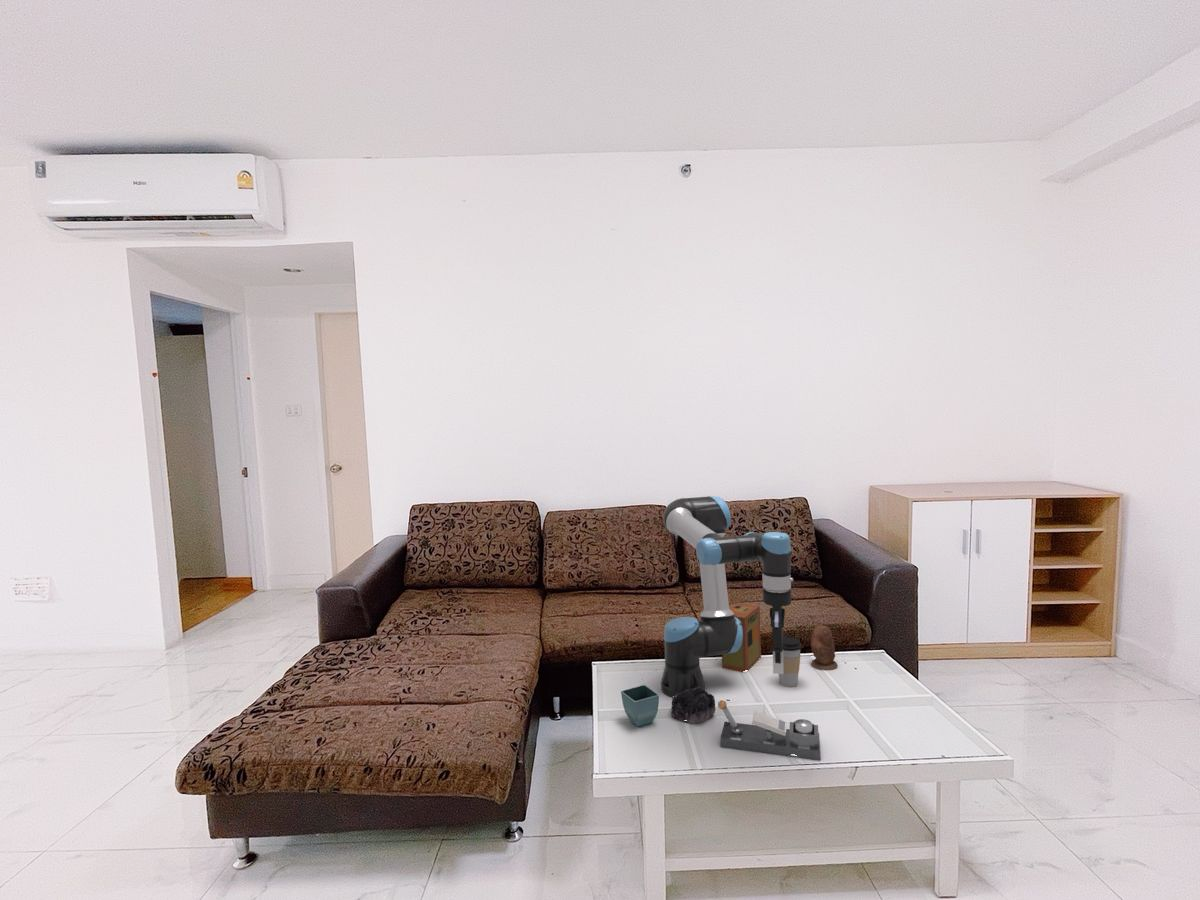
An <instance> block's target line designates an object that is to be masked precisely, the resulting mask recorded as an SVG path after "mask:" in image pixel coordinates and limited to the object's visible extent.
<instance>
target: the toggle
mask: <svg viewBox="0 0 1200 900" xmlns="http://www.w3.org/2000/svg"><path fill="white" fill-rule="evenodd" d="M717 706H718V708H719V709H720V710H722V712H723V714H724V715H725V716H724V717H726V719H727V722H730V724H731V726H732V728H734V727H736V726H737V724H736V723H737V722H736V720H735V718H734V717H733V715H732V714H731V712H730V709H728V705H727V702H726V701H725V700H723V699H722V700H719V701H718V704H717Z"/></svg>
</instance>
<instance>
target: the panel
mask: <svg viewBox="0 0 1200 900" xmlns="http://www.w3.org/2000/svg"><path fill="white" fill-rule="evenodd" d="M723 722H724V723H723V727H722V731H721V733H720V736H719V737H720V738H719V741H720V742H719V744H720V745H719V746H720V748H726V749H734V750H742V751H747V752H748V751H749V752H756V753H764V754H770V755H771V754H772V755H779V756H786V757H788V756H787V755H791V754H795V755H797V756H799V757H798V758H800V757H801V758H802V759H809V760H814V761H815V760H816V761H821V744H820V743H821V742H820V740H821V739H820V732H819V726H818V724H814V723H812V735H809V734H801V733H795V721H790V722H789V728H786V735H785V736H783V735H781V734H778V733H775V732H772V731H770V730H767V729H764V728H762V727H759V726H756V725H753V724H748V723H741V722H739V723H738V722H736V724H737V726H736V727H734V728H732V726H731V724H730V722H729V721H723Z"/></svg>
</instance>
